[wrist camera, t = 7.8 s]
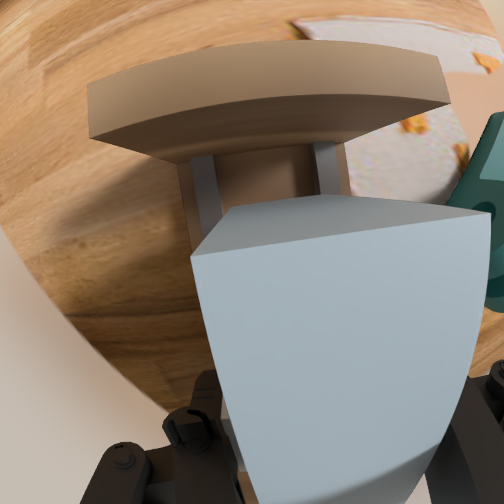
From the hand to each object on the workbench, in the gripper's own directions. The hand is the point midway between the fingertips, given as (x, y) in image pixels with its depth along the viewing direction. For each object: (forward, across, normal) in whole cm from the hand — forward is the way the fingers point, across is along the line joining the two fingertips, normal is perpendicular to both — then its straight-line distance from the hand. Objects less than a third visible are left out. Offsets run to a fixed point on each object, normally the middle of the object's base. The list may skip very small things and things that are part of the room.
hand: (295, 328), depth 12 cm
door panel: (0, 0, 0) cm, 0 cm away
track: (+6, 0, 0) cm, 6 cm away
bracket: (+7, +20, +5) cm, 21 cm away
